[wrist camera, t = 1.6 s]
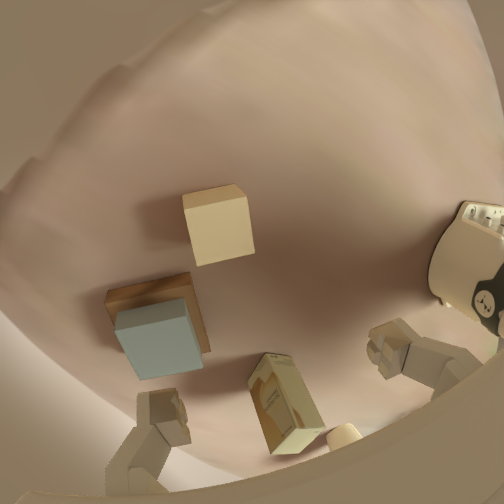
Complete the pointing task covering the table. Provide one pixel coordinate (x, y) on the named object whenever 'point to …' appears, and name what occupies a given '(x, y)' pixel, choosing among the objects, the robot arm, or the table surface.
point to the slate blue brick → (159, 339)
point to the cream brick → (218, 224)
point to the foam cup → (342, 436)
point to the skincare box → (284, 405)
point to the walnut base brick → (160, 300)
